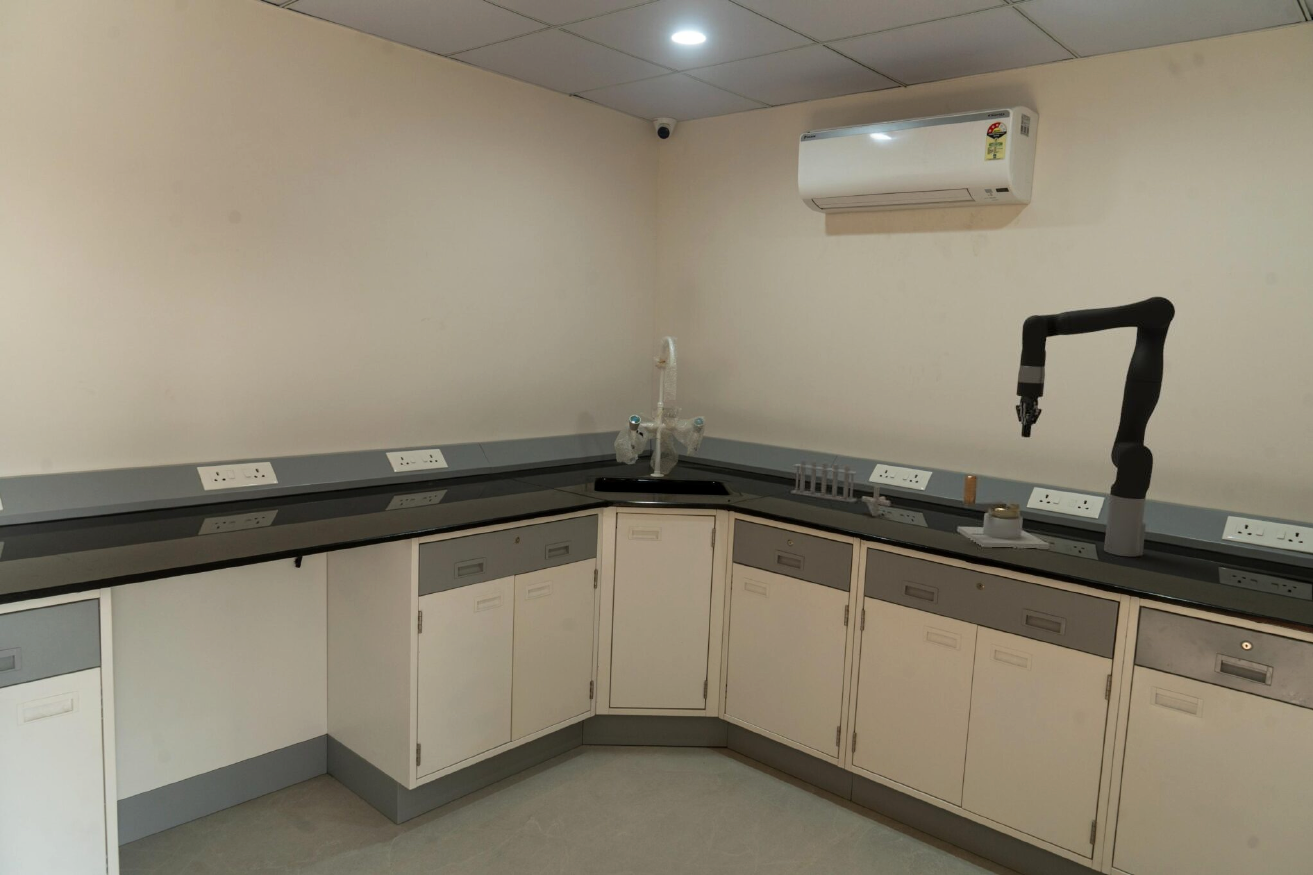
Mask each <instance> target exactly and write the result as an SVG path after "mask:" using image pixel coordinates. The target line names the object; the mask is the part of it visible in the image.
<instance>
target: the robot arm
mask: <svg viewBox="0 0 1313 875" xmlns="http://www.w3.org/2000/svg"><path fill="white" fill-rule="evenodd" d="M1175 309H1176V308H1175V306H1174V304H1173V303H1172V302H1171V300H1169V299H1168V298H1165V297H1163V296H1152V297H1148V298H1147V299H1144V300H1141V301H1140V300H1139V301H1137V302H1133V303H1128V304H1124V305H1118V306H1117V305H1116V306H1112V307H1111V306H1109V307H1101V308H1088V309H1087V308H1086V309H1079V310H1069V311H1062V312H1060V313H1053V314H1041V315H1040V314H1037V315H1036V314H1033V315H1030V316H1028V317H1027V318H1026V319H1025V320H1024V322H1023V325H1022V332H1021V333H1022V335H1021V336H1022V337H1021V351H1020V352H1021V354H1020V361H1019V362H1020V363H1019V370H1018V376H1017V386H1016V396H1018V397H1020V399H1019V404H1017V405H1015V412H1016V415H1017V419H1018V422H1019V423H1020V425H1021V433H1020V434H1021V437H1022V438H1028V439H1029V438H1030V437H1031V435H1032V434H1031V433H1032V426H1034V425H1035V424H1036V423H1037V421H1038V420H1039V418H1040V416H1041V414H1042V412H1043V410H1042V408H1039V407H1038V406H1039V398H1042V397H1043V396H1044V391H1045V390H1044V389H1045V379H1046V361H1047V360H1046V358H1047V352H1046V343H1047V338H1051V337H1056V336H1073V335H1082V334H1088V333H1095V332H1101V331H1106V330H1113V329H1120V328H1121V329H1122V328H1136V340H1135V345H1134V348H1133V349H1134V350H1133V353H1132V356H1131V358H1130V361H1129V364H1128V369H1127V373H1126V376H1125V377H1126V378H1125V383H1124V387H1123V395H1122V396H1123V397H1122V403H1121V407H1120V408H1121V410H1120V415H1119V416H1120V419H1119V423H1118V429H1117V432H1116V436H1115V439H1114V442H1113V445H1112V448H1111V454H1110V458H1111V463H1112V464H1113V465H1114V466H1115V468H1117V469H1116V475H1115V481H1114V483H1112V485H1111V486H1110V491H1109V492H1110V493H1109V499H1108V500H1109V502H1108V511H1107V518H1106V520H1107V521H1106V527H1105V528H1106V529H1105V536H1104V537H1105V539H1104V547H1103V551H1104V552H1106V553H1108V554H1111V555H1114V556H1115V555H1116V556H1119V557H1120V556H1122V557H1138V556H1141V557H1142V556H1143V553H1144V544H1145V535H1146V529H1147V528H1146V527H1147V525H1146V523H1144V516H1145V506H1146V498H1147V492H1148V490H1149V489H1150V485H1151V479H1152V473H1153V466H1154V465H1153V464H1154V457H1153V456H1154V455H1153V452H1152V451H1151V449H1150V448H1149V447H1147V446H1146V445H1145V444H1144V443H1145V435H1146V430H1147V426H1148V422H1149V420H1150V418H1151V417H1152V415H1153V413H1154V411H1155V408H1156V407H1157V405H1158V403H1159V400H1160V396H1161V390H1162V385H1163V384H1162V383H1163V380H1164V379H1163V378H1164V349H1165V344H1166V340H1167V336H1168V331H1169V328H1170V325H1171V323H1172V321H1173V319H1174V318H1175V315H1176V314H1175V313H1176V310H1175Z"/></svg>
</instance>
